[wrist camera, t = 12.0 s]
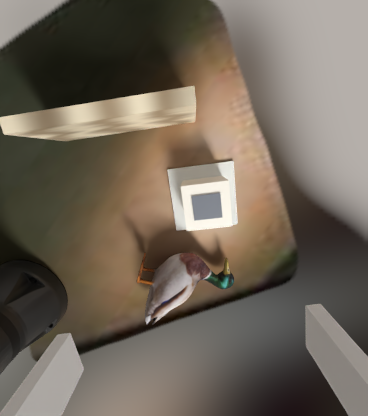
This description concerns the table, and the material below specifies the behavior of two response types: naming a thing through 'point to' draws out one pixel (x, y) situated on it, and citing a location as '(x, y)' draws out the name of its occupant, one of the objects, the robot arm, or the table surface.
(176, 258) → the decorative duck model
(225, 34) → the table surface
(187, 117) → the birch screen
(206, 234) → the table surface
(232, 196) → the felt mat
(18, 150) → the table surface
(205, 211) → the cream cube
